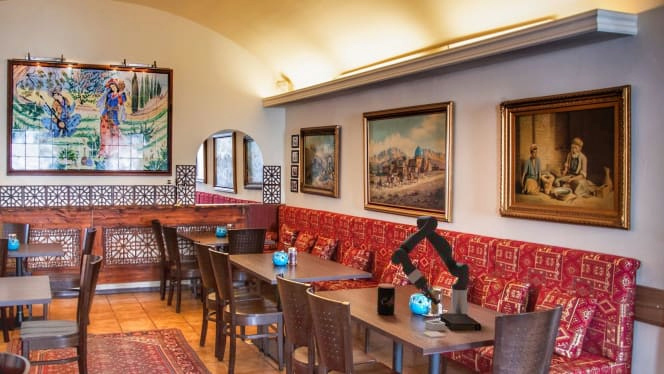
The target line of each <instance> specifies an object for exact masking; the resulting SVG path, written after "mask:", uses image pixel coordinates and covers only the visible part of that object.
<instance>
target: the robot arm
mask: <svg viewBox="0 0 664 374" xmlns="http://www.w3.org/2000/svg"><path fill="white" fill-rule="evenodd" d="M438 224H439V221H438V219H437V217H435V216H433V215H421V216H419V217H418V218H417V219H416V227H417V229H418V230H417V231H416V232H413V233H412V234H410V235H409V236H408V237H406V239H405V240H404V241H402V243H401V245H399V247H398V248H396V249H395V251H394V252H393V253H392V254H391V256H390V262H391V263H392V264H393V265H396V266H398V265H401V266H402V268H401V269H402V272H403V273H404V274H405V276H406V277H407V278H408V280H409V281H410V283H411V284H412V285H413V286H414V287H415V288H416V289H417V290H418V291H419V290H421V294H422V295H423V296H424V297H425V298H426V299H427V300H428V301H430V302H431V301H432V302H433V303H434V304H435V305H437V304H438V305H439V304H440V303H441V302H442V301H441V300H440V298H438V301H437V300H436V299H435V298H434V296H433V295H432V290H435V289H434V287H433V286H431V285H429V284H428V283H429V280H428V279H427V278H426V277H425V275H424V274H423V273H422V272H421V271H420V270H419V269H418V268H417V266H415V265H414V263H413V262H412V259H411V257H410V255H409V254H410V253H411V252H413V250H414V249H415V248H416V247H418V245H419V244H420V243H421V242H422V241H423V240H425V239H426V240H427V241H428V242H429V244H430V245H431V246H432V248H433V249H434V251H435V252H436V254H437V255H438V256H439V257H440V259H441V260H442V262H443V263H444V265H445V266H446V269H447V270H448V272H449V274H450V275H451V276H452V277H453V278H457V281H456V282H454V283H452V284H451V302H450V303H451V305H450V306H451V307H450V313H455V314H467V315H468V312H469V302H468V300H467V299H468V296H467V295H468V286H469V279H470V267H469V265H468V264H467V263H463V262H458V261H456V259H455V258H454V256H453V247H452V245H451V244H450V242H449V241H448V240H447V239H446V238H445V237H444V236H442V235H441V234H439V233H438V232H436V230H437V228H438V227H439V225H438ZM468 316H469V315H468Z"/></svg>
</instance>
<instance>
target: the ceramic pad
mask: <svg viewBox="0 0 664 374" xmlns="http://www.w3.org/2000/svg"><path fill="white" fill-rule="evenodd" d="M422 335H424V336H426V337H428V338H430V339H433V338H434V339H435V338H445V337H446V334H444V333H442V332H440V331H424V332H423V331H422Z"/></svg>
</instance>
